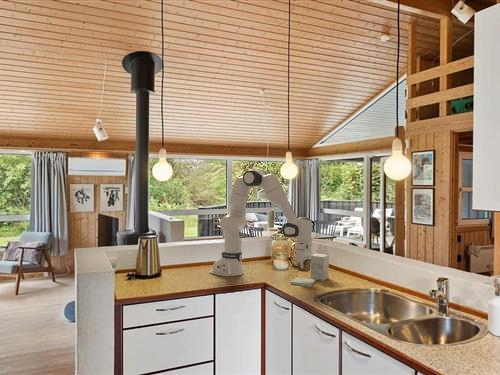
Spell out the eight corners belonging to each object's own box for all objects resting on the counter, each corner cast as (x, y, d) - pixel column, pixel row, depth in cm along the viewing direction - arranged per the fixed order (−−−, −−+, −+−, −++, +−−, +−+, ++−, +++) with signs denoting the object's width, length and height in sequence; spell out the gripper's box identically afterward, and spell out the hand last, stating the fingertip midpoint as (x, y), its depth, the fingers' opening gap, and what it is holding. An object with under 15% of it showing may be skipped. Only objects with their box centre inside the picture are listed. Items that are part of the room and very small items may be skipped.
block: (297, 270, 236) (297, 261, 236) (300, 268, 242) (300, 259, 241) (307, 272, 234) (307, 261, 234) (310, 269, 239) (310, 260, 239)
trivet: (290, 284, 235) (290, 281, 235) (296, 279, 246) (296, 277, 246) (310, 286, 230) (310, 284, 230) (315, 281, 241) (315, 279, 241)
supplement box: (315, 276, 255) (315, 253, 255) (328, 278, 251) (329, 254, 250) (309, 279, 248) (310, 255, 247) (323, 281, 243) (324, 257, 243)
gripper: (304, 241, 248) (303, 263, 248) (294, 246, 229) (293, 269, 230) (313, 242, 246) (313, 264, 246) (304, 247, 227) (304, 271, 227)
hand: (304, 267), depth 238 cm, fingers closed on block, 6 cm apart
